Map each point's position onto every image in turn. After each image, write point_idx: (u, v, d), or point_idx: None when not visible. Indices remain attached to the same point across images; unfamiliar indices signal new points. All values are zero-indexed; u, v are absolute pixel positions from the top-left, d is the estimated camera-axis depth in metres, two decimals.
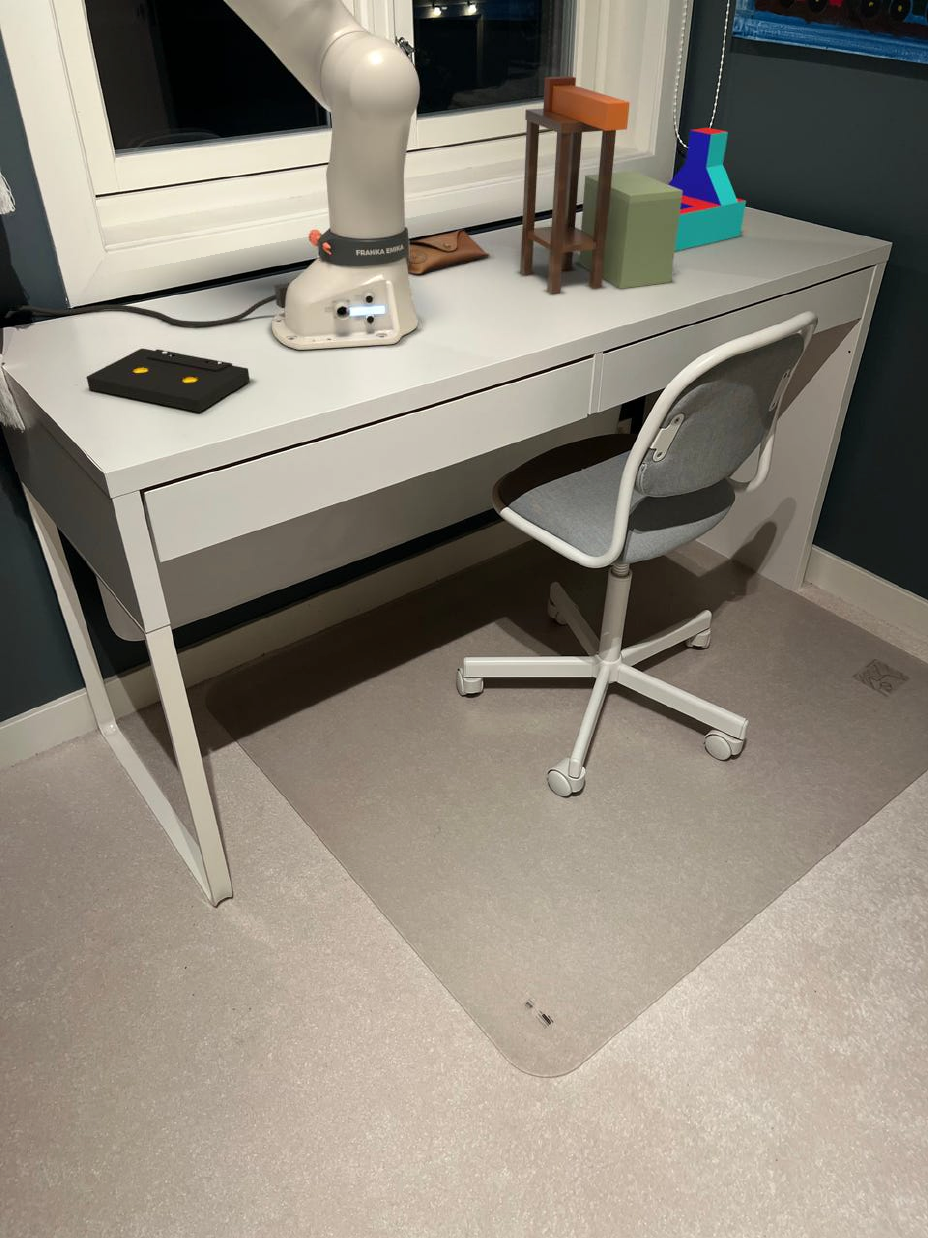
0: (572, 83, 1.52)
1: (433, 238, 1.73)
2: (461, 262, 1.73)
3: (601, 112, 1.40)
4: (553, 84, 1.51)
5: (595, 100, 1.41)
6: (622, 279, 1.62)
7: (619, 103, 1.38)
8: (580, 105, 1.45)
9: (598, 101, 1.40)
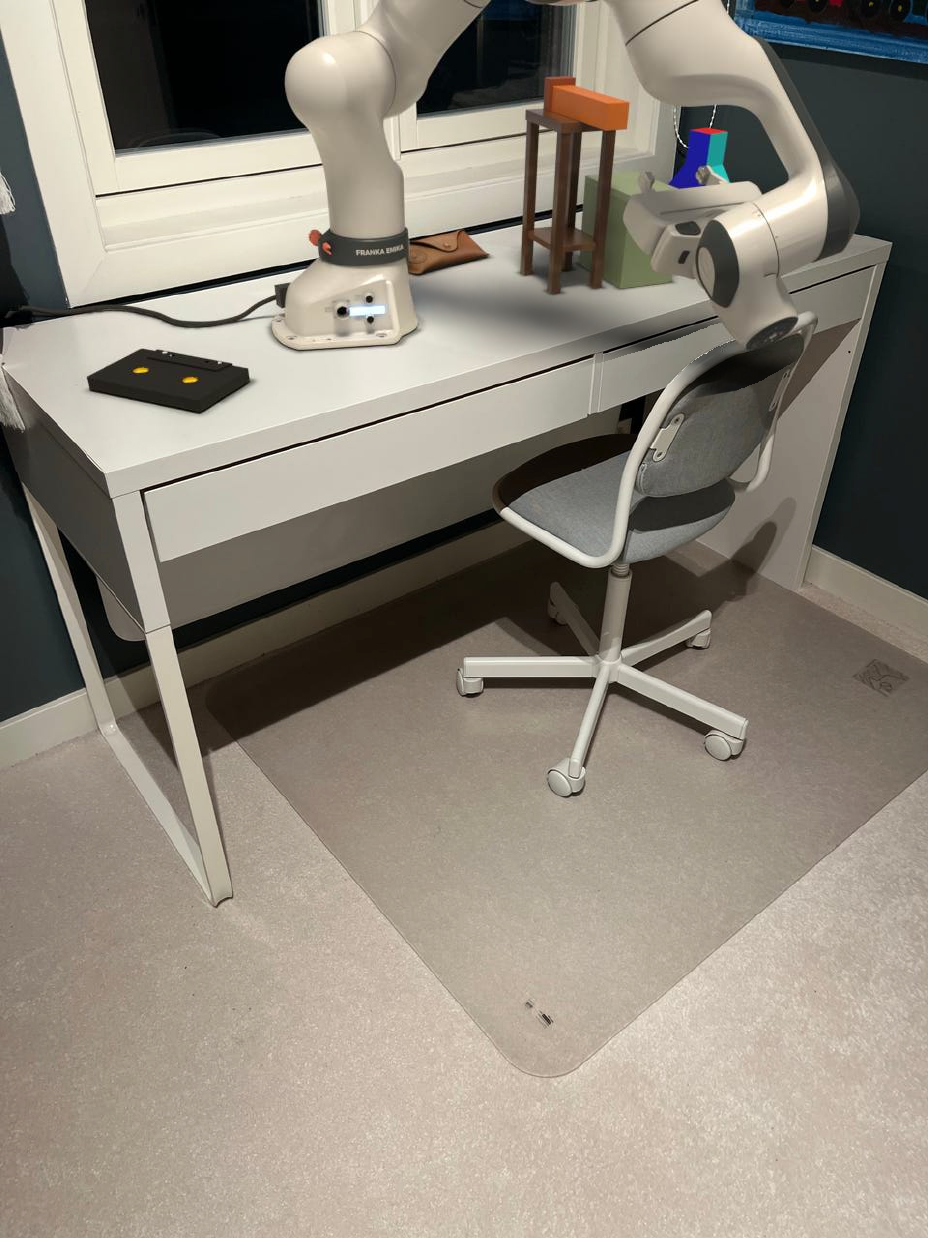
0: (572, 83, 1.52)
1: (433, 238, 1.73)
2: (460, 262, 1.73)
3: (601, 112, 1.40)
4: (553, 84, 1.51)
5: (595, 100, 1.41)
6: (622, 279, 1.62)
7: (619, 103, 1.38)
8: (580, 105, 1.45)
9: (598, 101, 1.40)
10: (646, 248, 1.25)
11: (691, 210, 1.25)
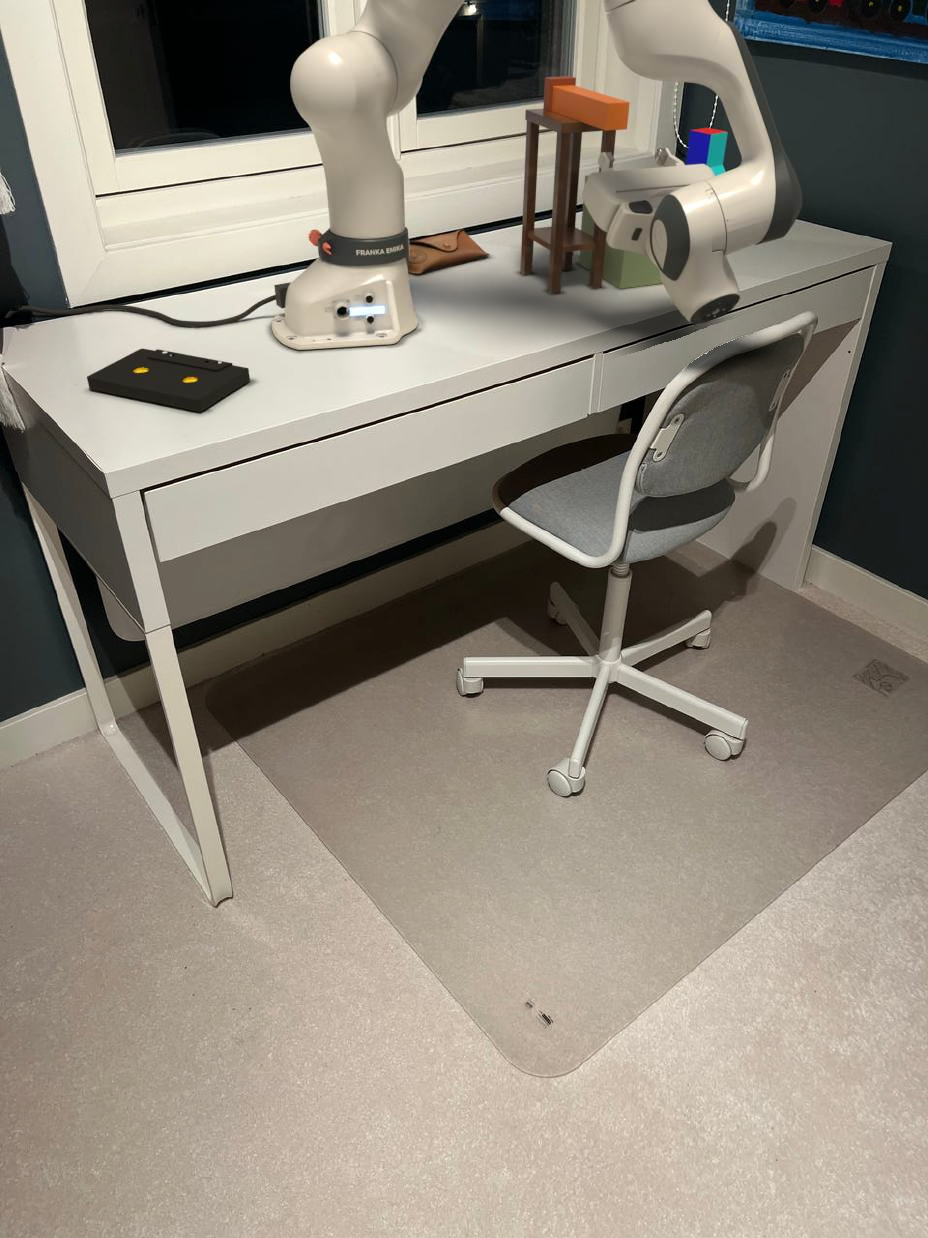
0: (572, 83, 1.52)
1: (433, 238, 1.73)
2: (460, 262, 1.73)
3: (601, 112, 1.40)
4: (553, 84, 1.51)
5: (595, 100, 1.41)
6: (622, 279, 1.62)
7: (619, 103, 1.38)
8: (580, 105, 1.45)
9: (598, 101, 1.40)
10: (602, 225, 1.33)
11: (646, 189, 1.33)
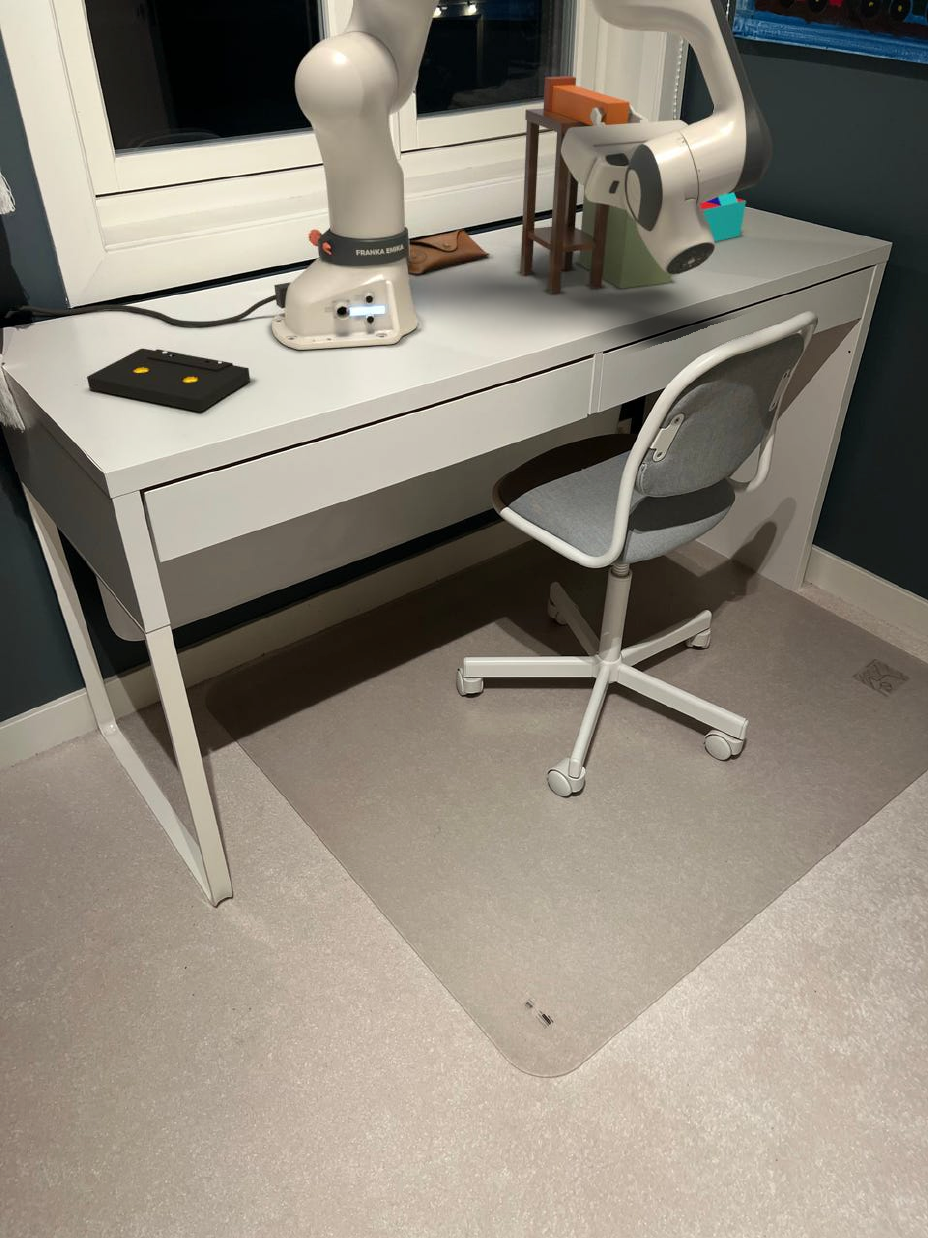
0: (572, 83, 1.52)
1: (433, 238, 1.73)
2: (460, 262, 1.73)
3: None
4: (553, 84, 1.51)
5: (595, 100, 1.41)
6: (622, 279, 1.62)
7: (619, 103, 1.38)
8: (580, 105, 1.45)
9: (598, 101, 1.40)
10: (580, 179, 1.35)
11: (623, 144, 1.36)
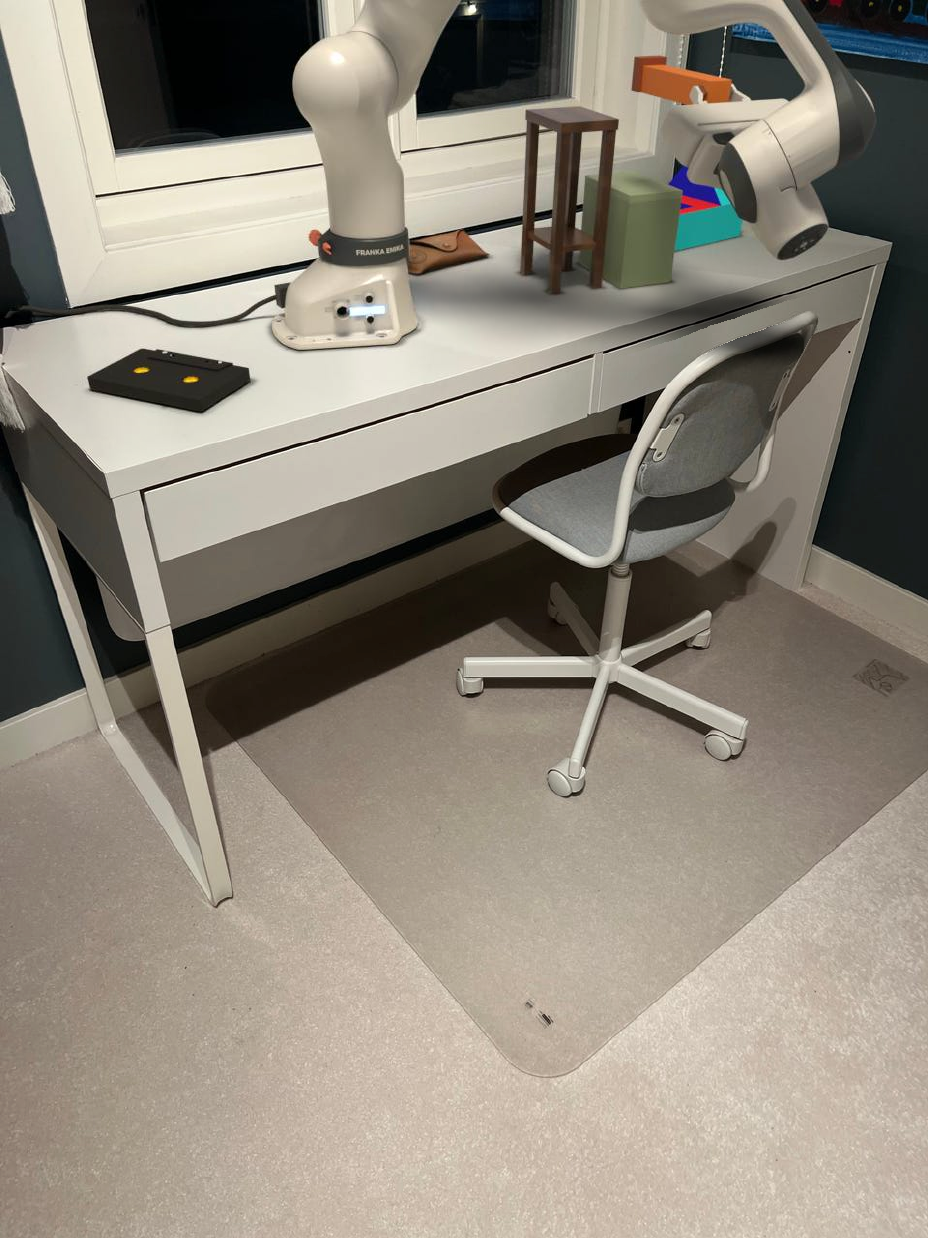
0: (663, 63, 1.46)
1: (433, 238, 1.73)
2: (460, 262, 1.73)
3: None
4: (644, 63, 1.45)
5: (694, 78, 1.34)
6: (622, 279, 1.62)
7: (721, 81, 1.32)
8: (676, 84, 1.38)
9: (698, 79, 1.34)
10: (683, 159, 1.29)
11: (728, 123, 1.29)
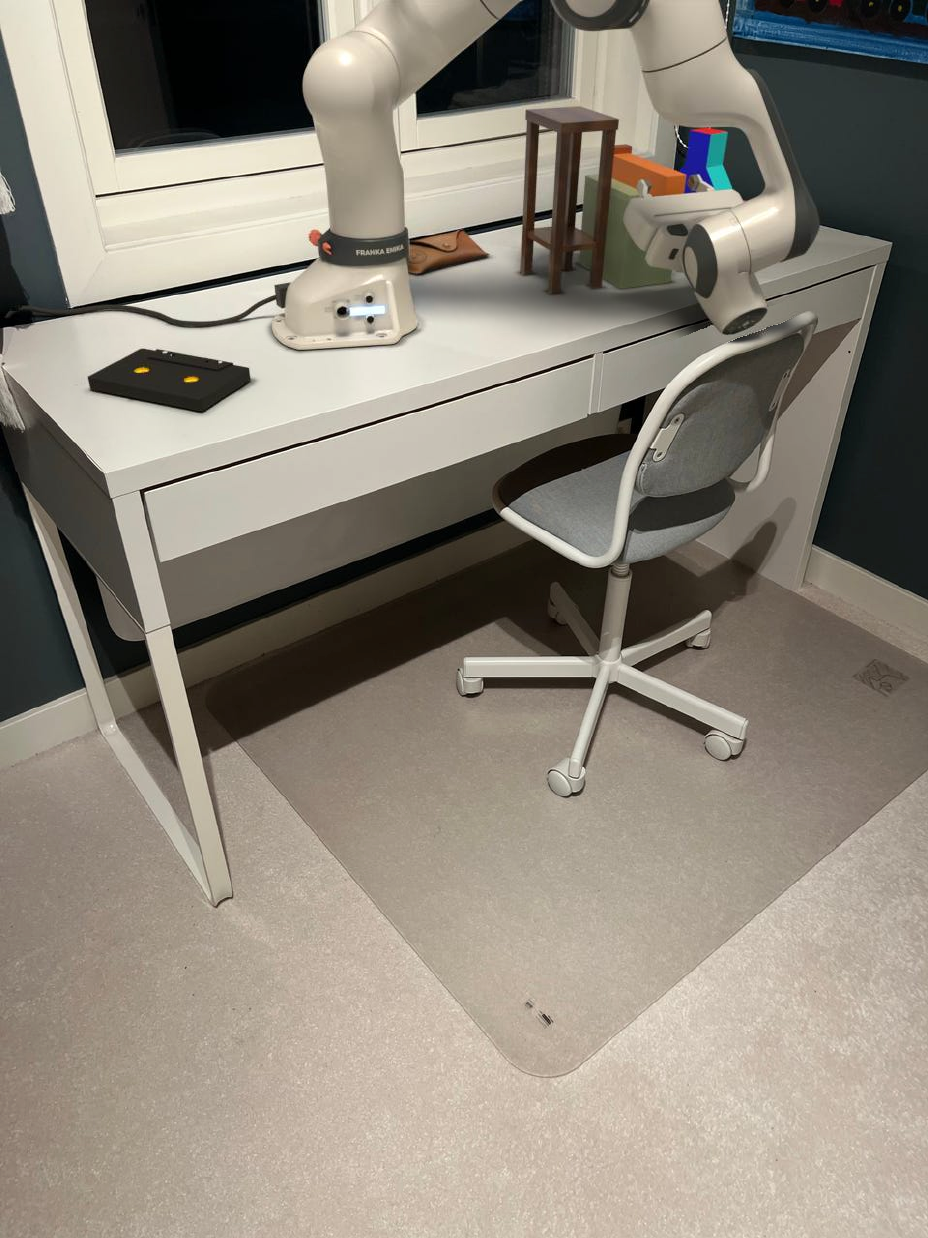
0: (629, 151, 1.63)
1: (433, 238, 1.73)
2: (460, 262, 1.73)
3: (659, 183, 1.51)
4: None
5: (654, 172, 1.52)
6: (622, 279, 1.62)
7: (677, 176, 1.50)
8: (639, 175, 1.56)
9: (657, 173, 1.51)
10: (641, 245, 1.47)
11: (681, 213, 1.47)
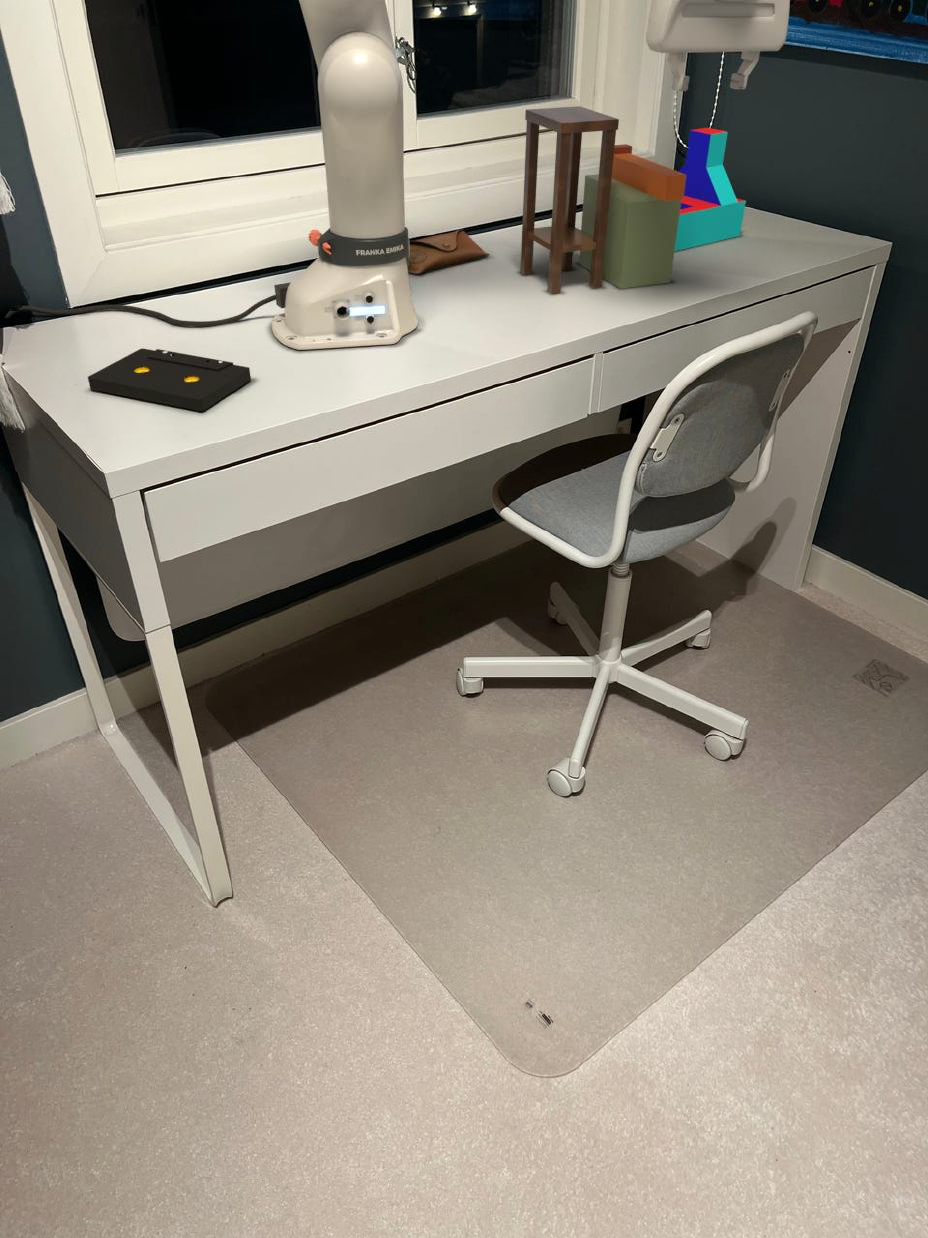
0: (629, 151, 1.63)
1: (432, 238, 1.73)
2: (460, 262, 1.73)
3: (659, 183, 1.51)
4: None
5: (654, 172, 1.52)
6: (622, 279, 1.62)
7: (677, 176, 1.50)
8: (639, 175, 1.56)
9: (657, 173, 1.51)
10: None
11: None
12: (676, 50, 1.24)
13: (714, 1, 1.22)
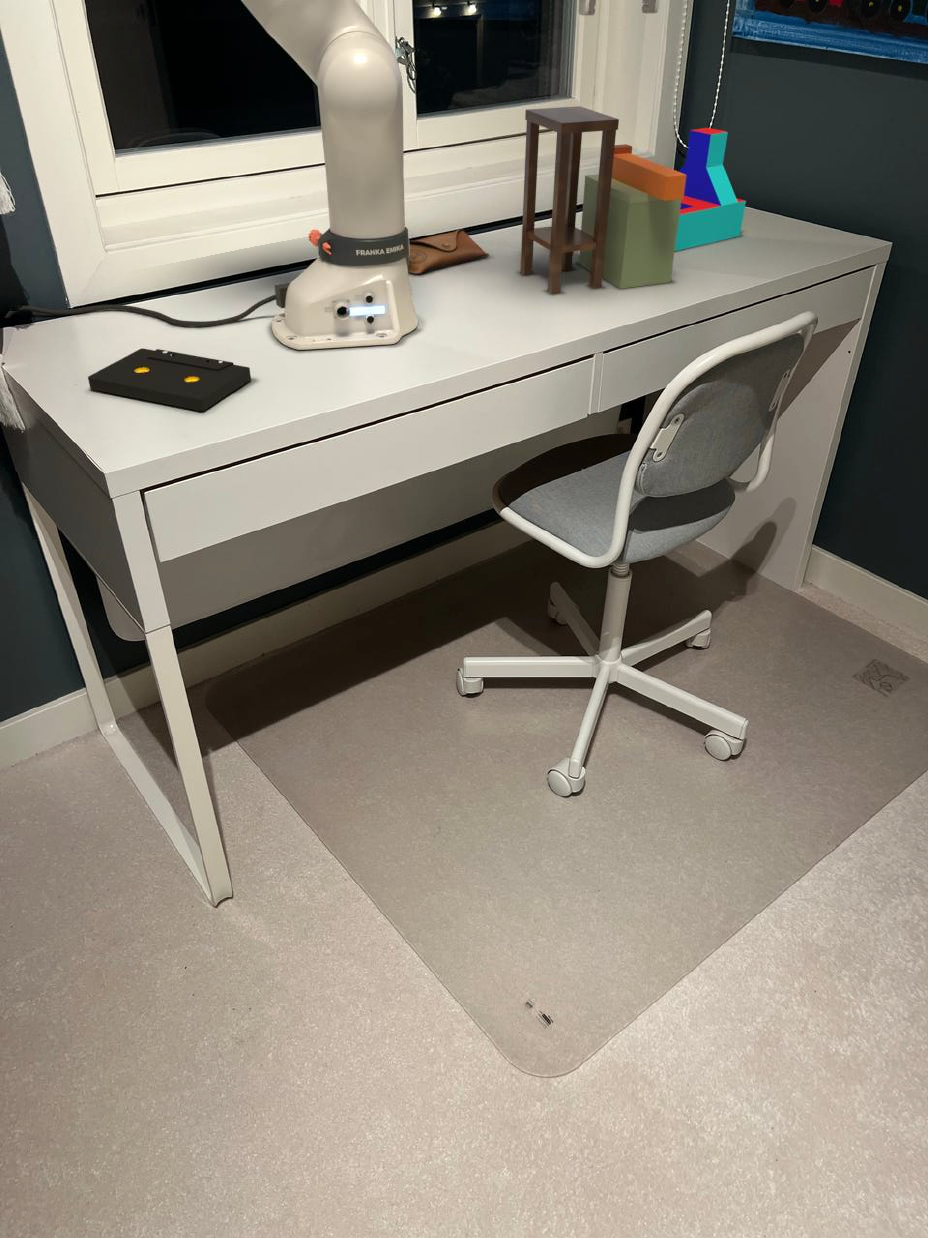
0: (629, 151, 1.63)
1: (432, 238, 1.73)
2: (460, 261, 1.73)
3: (659, 183, 1.51)
4: None
5: (654, 172, 1.52)
6: (622, 279, 1.62)
7: (677, 176, 1.50)
8: (639, 175, 1.56)
9: (657, 173, 1.51)
10: None
11: None
12: None
13: None
